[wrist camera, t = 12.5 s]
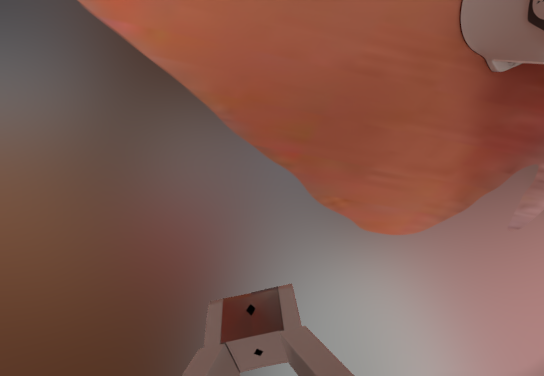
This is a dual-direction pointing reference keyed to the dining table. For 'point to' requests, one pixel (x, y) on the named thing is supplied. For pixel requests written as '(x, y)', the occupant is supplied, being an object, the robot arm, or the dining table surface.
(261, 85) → the dining table surface
